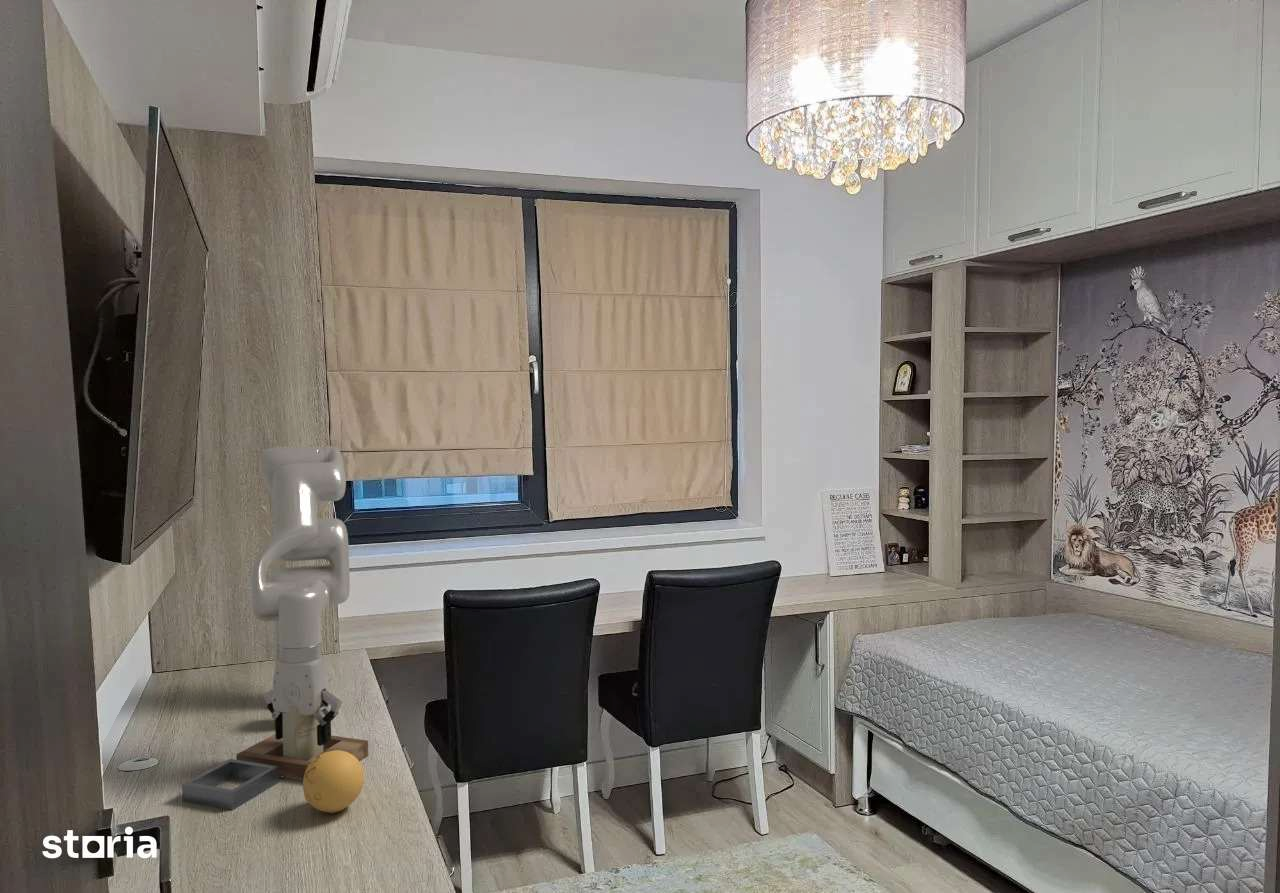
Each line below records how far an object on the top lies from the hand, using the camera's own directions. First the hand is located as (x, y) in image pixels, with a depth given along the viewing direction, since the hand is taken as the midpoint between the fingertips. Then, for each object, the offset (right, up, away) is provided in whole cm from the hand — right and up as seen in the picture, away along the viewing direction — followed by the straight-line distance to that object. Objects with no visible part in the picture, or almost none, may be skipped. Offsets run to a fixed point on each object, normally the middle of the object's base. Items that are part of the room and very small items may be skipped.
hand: (303, 739), depth 163 cm
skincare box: (0, -5, 0) cm, 5 cm away
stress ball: (+13, -6, -18) cm, 23 cm away
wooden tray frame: (0, -5, 0) cm, 5 cm away
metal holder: (-8, -5, -12) cm, 15 cm away
